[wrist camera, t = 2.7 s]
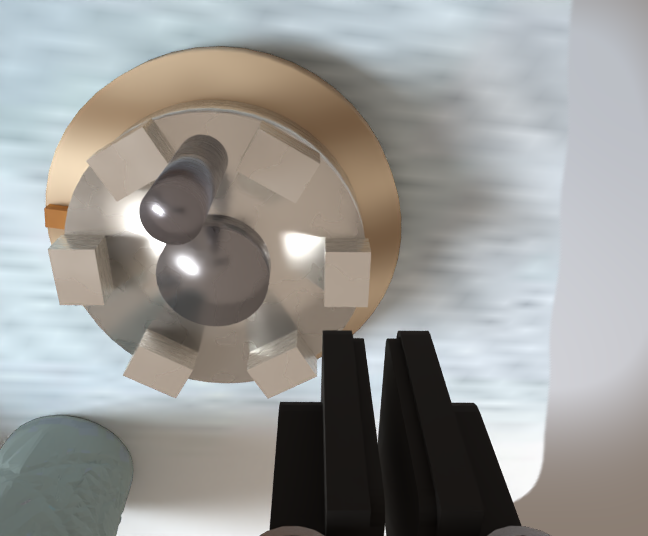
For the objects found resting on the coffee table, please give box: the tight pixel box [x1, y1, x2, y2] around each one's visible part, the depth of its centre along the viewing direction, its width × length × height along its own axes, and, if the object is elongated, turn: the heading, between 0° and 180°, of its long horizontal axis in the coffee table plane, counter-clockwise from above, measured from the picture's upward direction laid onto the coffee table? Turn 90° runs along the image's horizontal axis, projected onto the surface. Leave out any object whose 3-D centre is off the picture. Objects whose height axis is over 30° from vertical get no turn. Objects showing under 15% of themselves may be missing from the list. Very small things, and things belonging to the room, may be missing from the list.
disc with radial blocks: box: [48, 100, 371, 398], centre depth 26 cm, size 14×14×10 cm
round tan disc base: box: [44, 46, 401, 359], centre depth 31 cm, size 18×18×3 cm
